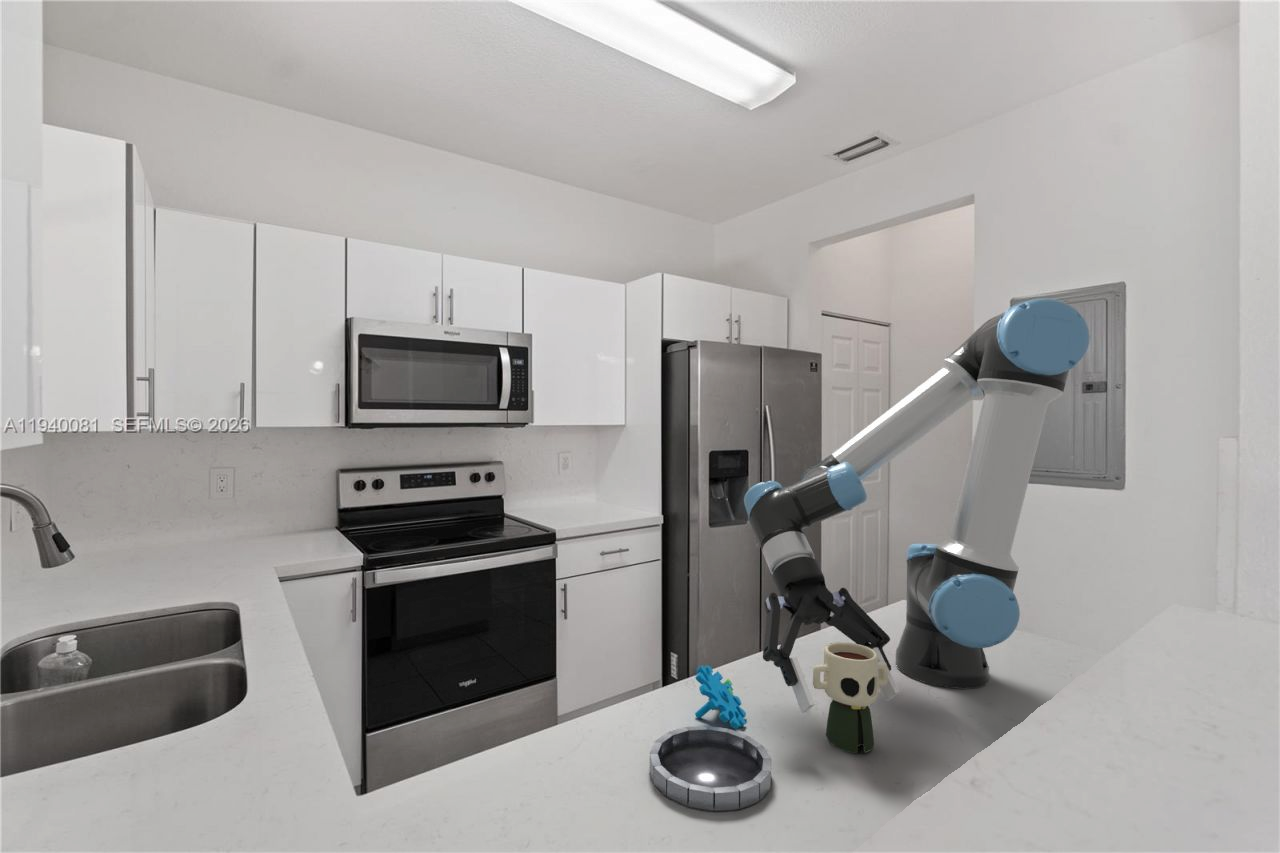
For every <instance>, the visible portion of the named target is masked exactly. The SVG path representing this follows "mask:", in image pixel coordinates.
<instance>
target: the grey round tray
mask: <svg viewBox="0 0 1280 853" xmlns="http://www.w3.org/2000/svg"><path fill="white" fill-rule="evenodd" d="M772 764H773V763H772V757H771V756H770V754H769V753H768V750H766V748H765V746H763V745H762V744H761V743H759V742H758V741H757V740H755V739H753V738H752V737H750V736H749V735H747V734H744V733H742V732H738V731H736V730H734V729H730V728H724V727H720V726H719V727H718V726H712V725H695V726H684V727H681V728H676V729H674V730H671V731H668V732H666V733H664V734H663V735H662V736H660V737H659V738H657V739H656V740H654V742H653V745H652V747H651V749H650V751H649V769H648V770H649V773H650V779H651V781H652V783H653V785H654V786H655V787H656V789H657V790H658V792H660V793H661V794H663V796H665V797H666V798H668V799H669V800H670V801H672V802H674V803H676V804H679V805H681V806H684V807H687V808H689V809H693V810H698V811H703V812H710V813H711V812H713V813H728V812H735V811H739V810H744V809H746V808H750V807H752V806H754V805H756V804H757V803H759V802H761V801H762V800H763V799H764V798H765V797H766V796H767V795H768V793H769V791H770V790H771V787H772V786H771V784H772Z"/></svg>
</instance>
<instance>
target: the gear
mask: <svg viewBox="0 0 1280 853" xmlns="http://www.w3.org/2000/svg"><path fill="white" fill-rule="evenodd" d="M696 672H697V674H696V675H695V677H694V678H695V680H696V682H698V683H699V684H700V686H699V687H698V689H699V691H700V692H699V693H700V694H701V695H702V696H705V697H707V698H708V701H707V702H706V703H705V704H704V705H703V706H702V707H700V708H699V709H698V710H696V711H695V712H694V715H695V718H697V719H699V720H700V719H701V718H702V717H704V716H705V715H706V714H708V712H710V711H715V709H719V710H720V713H719V714H718V717H719V719H720V720H721V721H722V722H723V723H724V724H725V723H727V722H728V721H729V725H730V727H731V728H732V729H733V730H737V729H738V728H742V727H744V726H745V725H746V724H747V723H746V720H745V719H744V718H746V716H747V712H746V711H745V710H744V709H743V708H742V707H740V706H742V701H741V698H740V697H739V696H736V695H734V692H733V691H734V689H733V687H732V686H733V683H732V681H731V680H730V679H729V678H727V679H726V680H725V681H723V682H722V681H721V680H723V679H724V677H723V676H722V674H721V673H720V672H719V671H716V672H715V673H713V672H714V670H713V668H712V667H711V666H709V665H708V664H707V665H705V666H704V665H701V666H698V667H697V669H696Z"/></svg>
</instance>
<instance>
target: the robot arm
mask: <svg viewBox="0 0 1280 853" xmlns="http://www.w3.org/2000/svg"><path fill="white" fill-rule="evenodd" d="M1089 346H1090V330H1089V326H1088V323H1087V321H1086V320H1085V318H1084V317H1083V316H1082V315H1081V313H1080V312H1079V311H1078V310H1077V309H1076V308H1075V307H1073V306H1072V305H1070V304H1068V303H1067V302H1064V301H1062V300H1059V299H1055V298H1042V297H1041V298H1033V299H1031V300H1025V301H1021V302H1019V303H1016V304H1014V305H1012V306H1011V307H1009V308H1008V309H1006V310H1005V311H1004V312H1002V313H1000V314H998V315H996V316H994V317H992V318H989V319H988V320H987V321H985V322H984V323H983V324H981V325H980V327H979V328H977V329H976V330H975V331H974V332H973V333H972V334H971V335H970V336H969V337H968V338H967V339H966V340H965V341H964V342H962V344H961V345H959V347H958V348H956V349H955V350H954V351H953V352H951V353H950V354H949V355H948V356H946V357H945V358H944V359H943V360H942V361H941V369H939V370H938V371H937V372H935V373H934V374H932V376H930V377H929V378H928V379H926V380H925V381H923V382H922V383H921V384H920V385H918V386H917V387H916V388H915V389H913V390H912V391H910V392H909V393H907V395H905V396H904V397H903V398H902V399H900V400H899V401H897V402H896V403H895V404H894V405H893V406H891V407H889V408H888V409H887V410H886V411H885V412H883V413H882V414H880V416H878V417H877V418H876V419H875V420H873V421H872V422H871V423H868V425H867V426H865V427H864V428H863V429H861V430H860V431H859V432H857V433H856V434H855V435H854V436H853V437H851V438H850V439H849V440H847V441H846V442H845V443H843V444H842V445H840V446H839V447H838V448H837V449H836V450H834V451H833V452H831V454H830V455H828V456H827V457H825V458H824V459H823V460H821V461H820V462H819V463H818V464H816V465H814V466H811V467H810V468H809V469H807V470H806V471H805V472H804V473H803V475H802V476H801V479H800V481H798V482H796V483H794V484H792V485H788V486H786V487H783V486H782V484H781V483H779V482H777V481H776V480H767V481H766V482H764V481H761V482H759V483H757V484H754V485H753V486H751V487H750V488H749V489H748V490H747V492H746V493H745V495H744V496H743V497H744V498H743V504H744V507H745V511H746V513H747V516H748V517H747V518H748V521H749V523H750V525H751V528H752V530H753V533H754V535H755V537H756V539H757V542H758V545H759V547H760V549H761V552H762V555H763V556H764V559H765V562H766V564H767V567H768V569H769V572H770V573H771V575H772V581H773V583H774V585H775V587H776V591H777V593H778V595H777V594H776V593H775V592H771V593H770V594H769V596H767V598H766V600H765V601H764V604H763V605H764V608H765V612H766V618H765V619H766V620H765V630H764V642H763V648H762V659H763V660H764V661H765V662H767V663H768V662H773V665H774V666H775V667H777V668H780V671H781V674H782V678H783V680H784V682H785V684H786V685H787V687H792V690H793V693H794V696H795V698H796V701H797V705H798V706H799V709H800V712H801V713H803V714H806V713H808V712H809V710H811V709H812V708H813V707H815V705H816V704H815V699H814V698H813V695H812V693H811V691H810V688H809V685H808V682H807V680H806V678H805V675H804V673H803V669H802V666H801V664H800V661H799V659H798V656H791V654H792V651H793V648H794V645H795V642H796V640H797V636H798V634H799V631H800V628H801V626H802V624H804V626H808V625H809V626H810V625H811V624H819V625H820V624H824V623H825V624H826V625H828V626H830V627H834V628H835V629H836V630H837V631H839V632H840V633H841V634H843V635H844V636H846V637H847V638H849V639H850V640H851V641H853V642H854V643H855V644H860V645H863V646H866V647H869V648H871V649H873V650H875V651H876V653H877V654H878V662H885V663H886V664H887V667H888V680H887V685H885V686H879V690H880V691H881V693H882V694H881V695H882V696H883V698H884V700H885V701H887V702H888V701H891V700H892V699H893V698H895V697H896V696H898V695H899V694H900V693H901V692H900V690H899V688H898V686H897V683H896V681H895V679H894V677H893V675H892V674H891V671H892V666H891V664H890V661H889V660H888V657H887V656H886V653H885V651H884V649H883V648H884V647H885V646H886V645H887V644H888V643H889V642H890V641H891V637H890V636H889V634H887V633H886V632H885V631H884V630H883V628H881V626H879V625H878V623H877V622H876V621H875V620H873V618H871V616H870V615H868V614H867V612H865V611H864V610H863V608H861V606H860V605H859V604H858V603H857V602H855V600H854V599H853V598H852V596H851V594H850V592H849V591H848V589H847V588H845V587H841V588H840V589H839V590H838V591H835V592H834V591H833V592H831V591H830V590H829V589H828V587H827V585H826V579H825V575H824V573H823V572H822V570H821V567H820V565H819V563H818V561H817V560H816V558H815V554H814V552H813V550H812V548H811V545H810V543H809V541H808V540H807V539H808V538H807V537H806V535H805V533H804V531H803V530H804V529H807V528H809V527H812V526H813V525H816V524H818V523H820V522H823V521H825V520H828V519H830V518H832V517H834V516H837V515H840V514H842V513H844V512H847V511H848V512H849V511H852V509H853V508H856V507H858V506H860V505H861V504H863V503H865V502H866V501H867V498H868V497H867V496H868V495H867V492H866V489H865V487H864V486H863V482H864V481H866V480H867V479H868V478H870V477H871V476H872V475H873V474H875V473H876V472H878V471H879V470H880V469H881V468H883V467H884V466H885V465H887V464H889V462H890V461H892V460H894V459H895V458H896V457H897V456H899V455H901V454H903V453H904V451H906V450H907V449H908V448H910V447H911V446H913V444H915V443H916V442H918V441H919V440H920V439H921V438H924V436H926V435H927V434H928V433H929V432H931V431H933V430H934V429H935V428H936V427H938V426H939V425H940V424H942V423H943V422H945V421H946V420H948V418H950V417H951V416H952V415H954V414H955V413H956V412H958V411H959V410H961V409H962V408H963V407H965V406H966V405H967V404H969V403H971V401H982V400H983V401H982V405H981V407H980V413H979V415H978V419H977V420H978V421H977V425H976V429H975V433H974V436H973V441H972V444H971V449H970V453H969V457H968V461H967V465H966V470H965V472H964V473H965V474H964V477H963V482H962V486H961V488H960V489H961V490H960V493H959V497H958V502H957V506H956V509H955V513H954V518H953V522H952V526H951V530H950V533H949V534H950V535H949V537H948V538H947V539H945V540H943V541H941V542H938V544H937V543H922V542H921V543H912V544H910V545H909V546H908V548H907V553H906V554H907V556H906V558H905V561H906V616H905V617H906V619H905V622H906V623H905V627H904V629H903V631H902V633H901V636H900V639H899V643H898V646H897V647H896V649H895V650H896V651H895V666H896V665H897V666H896V668H897V667H898V668H899V669H900V670H901V671H900V670H899V669H898V668H897V669H898V670H899V671H900V672H901V673H903V674H904V673H905V675H906V674H907V675H906V676H908V677H910V676H911V677H910V678H912V677H913V679H915V680H917V679H918V681H920V680H921V681H920V682H923V681H924V682H923V683H926V684H930V685H934V684H935V685H934V686H939V687H944V688H951V689H975V688H976V689H977V688H980V687H984V686H986V685H987V684H988V683H989V680H990V666H989V663H988V661H987V657H986V655H985V652H984V649H986V648H991V647H993V646H997V645H998V644H1001V643H1004V642H1005V641H1006V640H1008V639H1009V638H1010V637H1011V636H1012V635H1013V633H1014V632H1015V631H1016V629H1017V627H1018V625H1019V621H1020V615H1021V613H1020V605H1019V603H1018V599H1017V596H1016V594H1015V593H1014V589H1015V585H1016V581H1017V578H1018V574H1019V570H1020V569H1019V566H1018V564H1017V563H1016V562H1015V561H1014V558H1013V557H1012V555H1011V553H1012V548H1013V545H1014V541H1015V537H1016V532H1017V530H1018V524H1019V521H1020V516H1021V513H1022V509H1023V505H1024V501H1025V497H1026V493H1027V489H1028V486H1029V481H1030V477H1031V473H1032V469H1033V465H1034V462H1035V458H1036V457H1035V456H1036V453H1037V450H1038V446H1039V442H1040V437H1041V433H1042V430H1043V426H1044V421H1045V417H1046V413H1047V409H1048V405H1049V404H1050V403H1052V402H1053V401H1055V400H1057V399H1058V398H1060V397H1062V396H1063V395H1064V392H1065V387H1066V385H1067V384H1066V383H1067V379H1068V376H1069V372H1070V370H1071V369H1073V368H1075V367H1076V366H1077V365H1078V364H1079V363H1080V362H1081V360H1082V359H1083V358H1084V357H1085V355H1086V353H1087V351H1088V349H1089ZM783 608H784V609H785V610H786V611H788V613H790V617H789V620H788V622H787V627H786V630H785V632H784V635H783V638H782V641H781V643H780V646H779V647H778V645H779V644H778V643H779V634H780V624H781V623H780V621H781V610H782V609H783ZM831 613H833V614H832V615H831ZM790 656H791V657H790ZM878 671H879V679H880V669H878ZM985 684H986V685H985Z"/></svg>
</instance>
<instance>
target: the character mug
mask: <svg viewBox="0 0 1280 853" xmlns="http://www.w3.org/2000/svg"><path fill="white" fill-rule="evenodd" d="M878 669H880V679H879V671H878ZM821 673H823V681H821ZM887 680H888V667H887V664H886V663H885V662H878V654H877V653H876V651H875V650H873V649H871V648H869V647H866V646H863V645H860V644H856V643H855V642H854V643H853V642H844V641H843V642H842V641H837V642H830V643H828V644H826V645H825V646H824V649H823V664H815V665H814V666H813V670H812V686H813V689H816V690H824V693H825V694H826V695H827V697H828V698H830V699H831V702H830V703H829V709H828V715H827V719H826V720H827V722H826V729H825V736H826V739H827V741H828V742H829V743H830V744H831V745H832V746H833V747H835V748H836V749H838V750H841V751H843V752H848V753H853V754H858V752H859V747H860V746H863V752H864V753H868V752H870V751H872V750H873V749H874V745H875V738H874V727H873V720H872V713H871V708H870V707H869V706H871V705H873V703H875V702H876V701H877V699H878V696H879V690H880V688H879V686H885V685H887Z"/></svg>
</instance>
